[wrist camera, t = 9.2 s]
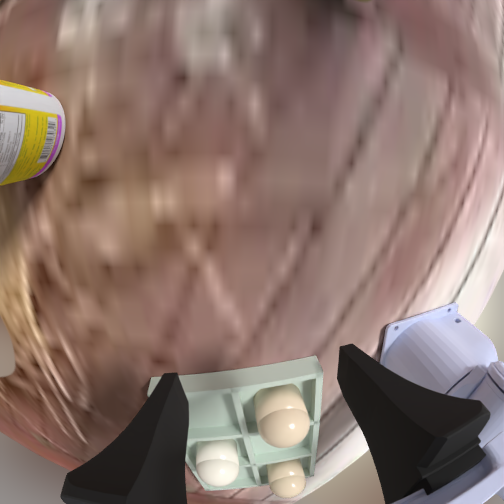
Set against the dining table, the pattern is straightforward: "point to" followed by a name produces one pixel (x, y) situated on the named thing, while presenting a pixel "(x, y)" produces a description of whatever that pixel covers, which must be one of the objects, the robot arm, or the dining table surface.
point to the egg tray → (249, 416)
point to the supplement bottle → (28, 131)
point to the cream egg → (217, 462)
